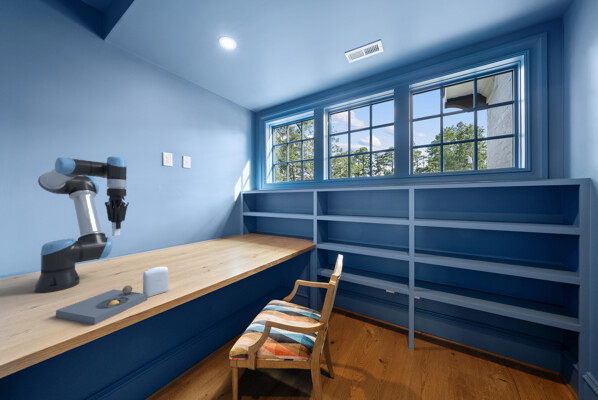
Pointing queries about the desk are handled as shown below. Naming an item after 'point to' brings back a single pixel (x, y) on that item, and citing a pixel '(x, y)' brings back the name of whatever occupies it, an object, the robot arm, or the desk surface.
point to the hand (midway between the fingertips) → (116, 235)
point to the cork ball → (127, 289)
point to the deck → (101, 306)
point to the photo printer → (155, 281)
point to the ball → (113, 302)
